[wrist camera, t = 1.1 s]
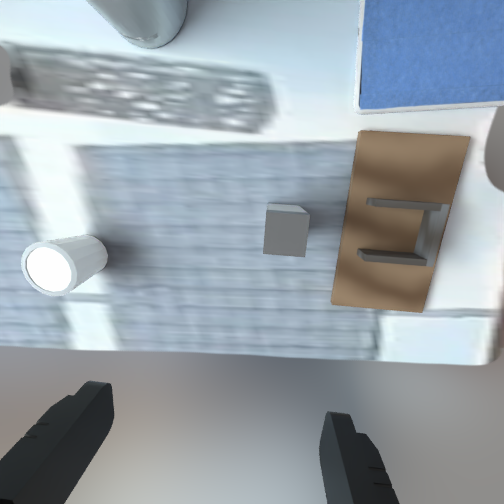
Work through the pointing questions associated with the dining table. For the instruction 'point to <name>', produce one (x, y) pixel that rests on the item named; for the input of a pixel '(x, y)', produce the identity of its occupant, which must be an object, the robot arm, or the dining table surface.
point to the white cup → (63, 263)
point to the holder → (396, 218)
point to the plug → (286, 230)
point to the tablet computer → (429, 55)
